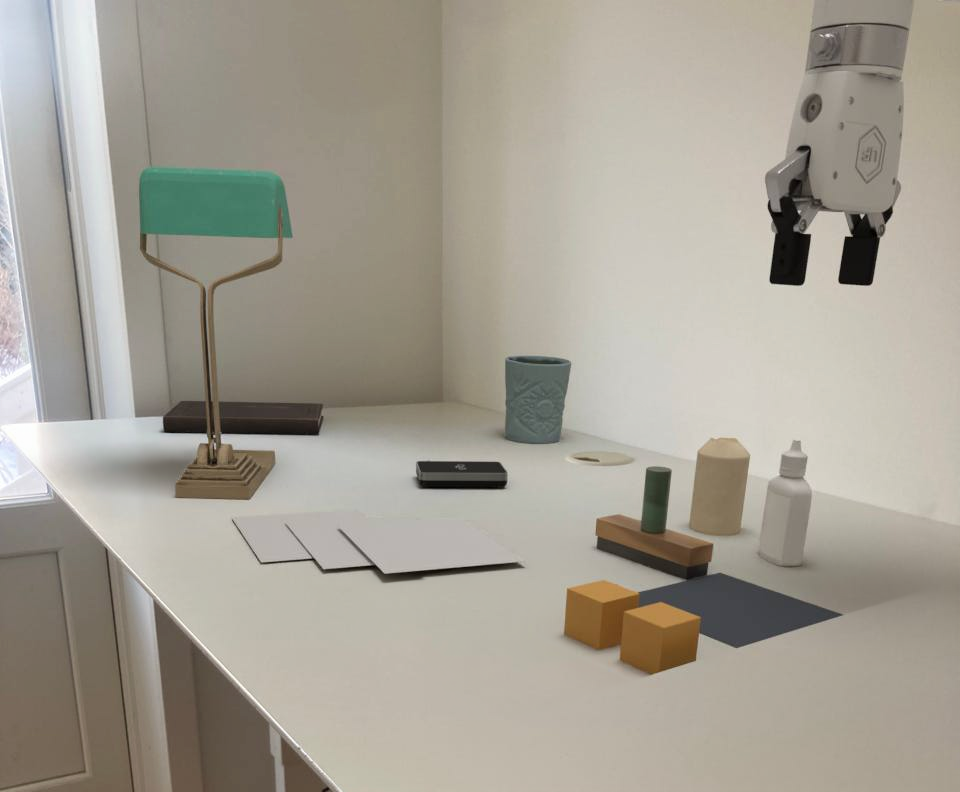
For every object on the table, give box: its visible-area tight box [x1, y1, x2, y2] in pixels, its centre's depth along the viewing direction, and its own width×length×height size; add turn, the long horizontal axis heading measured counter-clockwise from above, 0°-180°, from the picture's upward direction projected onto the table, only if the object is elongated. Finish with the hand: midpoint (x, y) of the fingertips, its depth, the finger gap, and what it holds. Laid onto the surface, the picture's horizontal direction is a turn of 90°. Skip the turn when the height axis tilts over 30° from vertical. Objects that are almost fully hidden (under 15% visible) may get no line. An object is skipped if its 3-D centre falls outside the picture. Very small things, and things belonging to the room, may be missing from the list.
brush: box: [594, 465, 714, 581], centre depth 99 cm, size 3×12×9 cm, turn 38°
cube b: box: [563, 579, 640, 651], centre depth 80 cm, size 4×4×4 cm
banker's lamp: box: [138, 166, 293, 500], centre depth 121 cm, size 16×21×35 cm
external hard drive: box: [415, 460, 508, 489], centre depth 129 cm, size 7×11×2 cm, turn 97°
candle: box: [688, 436, 751, 537], centre depth 111 cm, size 6×6×10 cm
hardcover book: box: [162, 400, 324, 436], centre depth 162 cm, size 16×23×2 cm
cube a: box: [619, 602, 701, 675], centre depth 76 cm, size 4×4×4 cm
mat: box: [637, 572, 844, 649], centre depth 87 cm, size 14×18×1 cm
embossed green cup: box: [504, 355, 572, 444], centre depth 157 cm, size 10×10×12 cm
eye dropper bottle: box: [758, 439, 813, 567], centre depth 101 cm, size 4×6×12 cm
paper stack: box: [231, 508, 526, 575], centre depth 103 cm, size 23×25×1 cm
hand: (821, 284), depth 89 cm, fingers open, 9 cm apart
